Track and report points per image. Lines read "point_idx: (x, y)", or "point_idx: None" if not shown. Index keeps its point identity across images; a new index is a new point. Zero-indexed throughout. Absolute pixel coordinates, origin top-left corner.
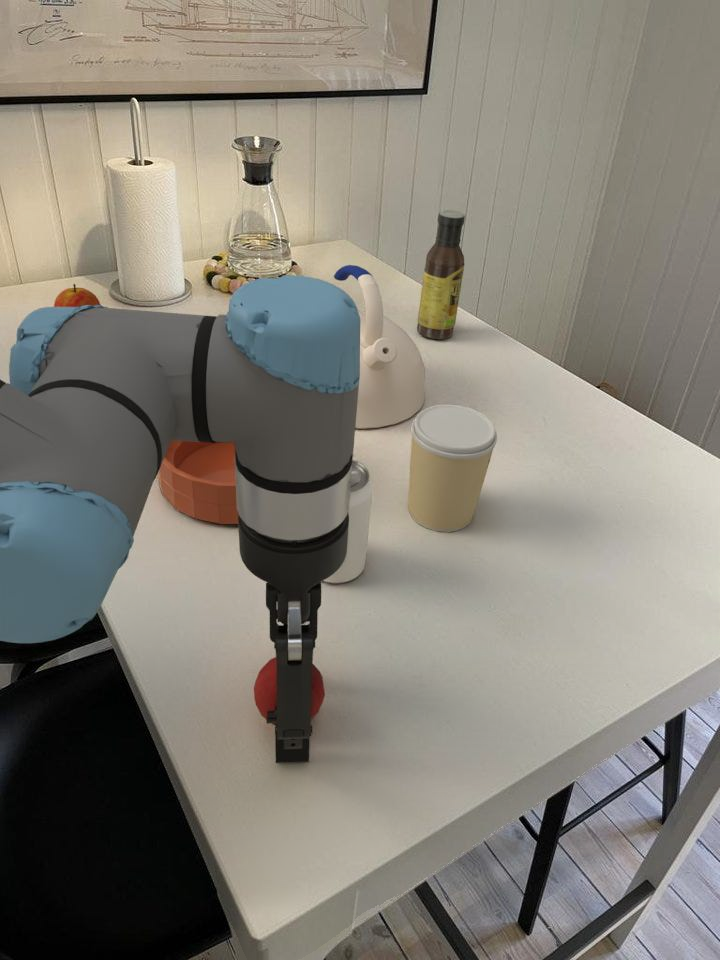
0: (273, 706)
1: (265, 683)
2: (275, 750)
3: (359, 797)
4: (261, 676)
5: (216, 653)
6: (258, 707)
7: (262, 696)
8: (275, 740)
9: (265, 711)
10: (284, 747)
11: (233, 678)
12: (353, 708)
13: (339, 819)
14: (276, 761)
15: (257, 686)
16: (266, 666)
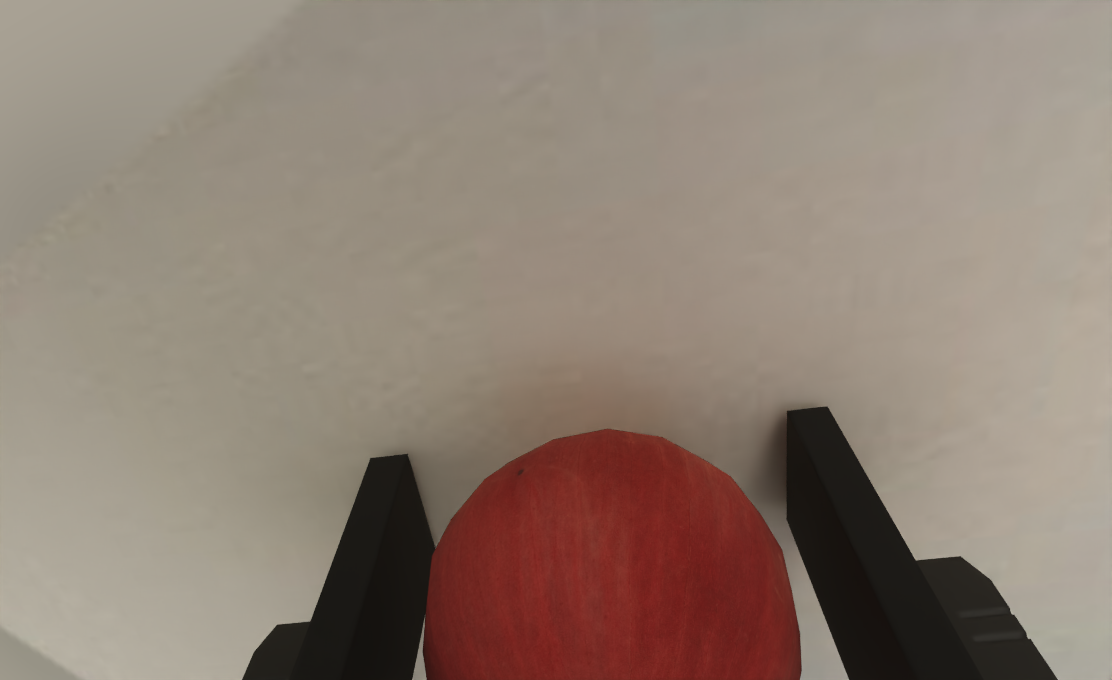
0: (432, 641)
1: (537, 650)
2: (348, 519)
3: None
4: (599, 615)
5: (1014, 79)
6: (488, 502)
7: (485, 593)
8: (327, 576)
9: (453, 550)
10: (256, 652)
11: (821, 209)
12: None
13: (230, 636)
14: (367, 469)
15: (558, 559)
16: (664, 655)
